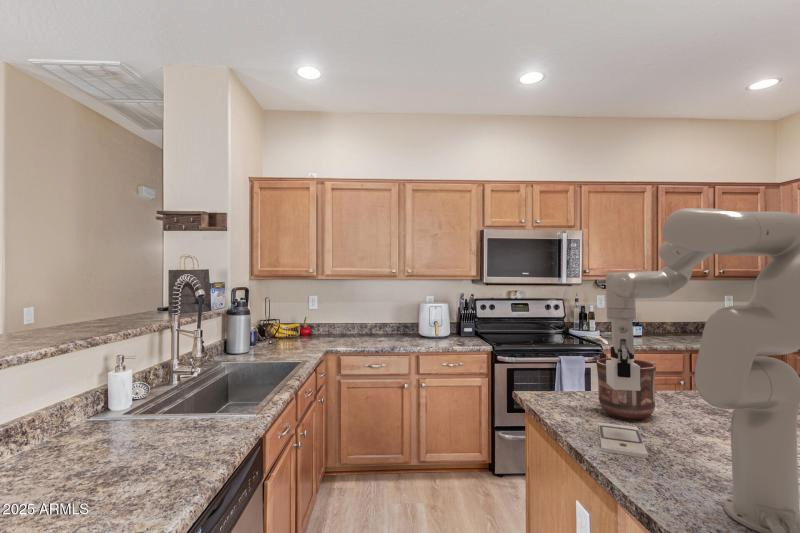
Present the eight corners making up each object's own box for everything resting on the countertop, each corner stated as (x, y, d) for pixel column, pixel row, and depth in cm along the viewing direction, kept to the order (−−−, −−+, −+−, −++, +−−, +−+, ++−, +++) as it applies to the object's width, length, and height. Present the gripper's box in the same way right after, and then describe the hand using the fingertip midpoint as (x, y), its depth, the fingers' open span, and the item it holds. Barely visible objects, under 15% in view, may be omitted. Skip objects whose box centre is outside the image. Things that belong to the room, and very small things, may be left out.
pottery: (645, 429, 121) (644, 371, 122) (588, 414, 135) (587, 361, 135) (665, 416, 132) (663, 363, 133) (610, 403, 146) (609, 355, 146)
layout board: (648, 458, 102) (648, 453, 102) (601, 451, 107) (601, 446, 107) (637, 430, 120) (637, 426, 120) (598, 425, 125) (598, 421, 125)
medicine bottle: (641, 391, 111) (640, 348, 111) (613, 390, 112) (612, 348, 112) (631, 384, 118) (630, 344, 118) (606, 383, 119) (605, 343, 119)
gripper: (639, 317, 106) (641, 382, 105) (632, 311, 122) (633, 368, 121) (608, 316, 109) (610, 379, 109) (605, 311, 125) (606, 366, 124)
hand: (622, 373), depth 115 cm, fingers closed on medicine bottle, 8 cm apart
